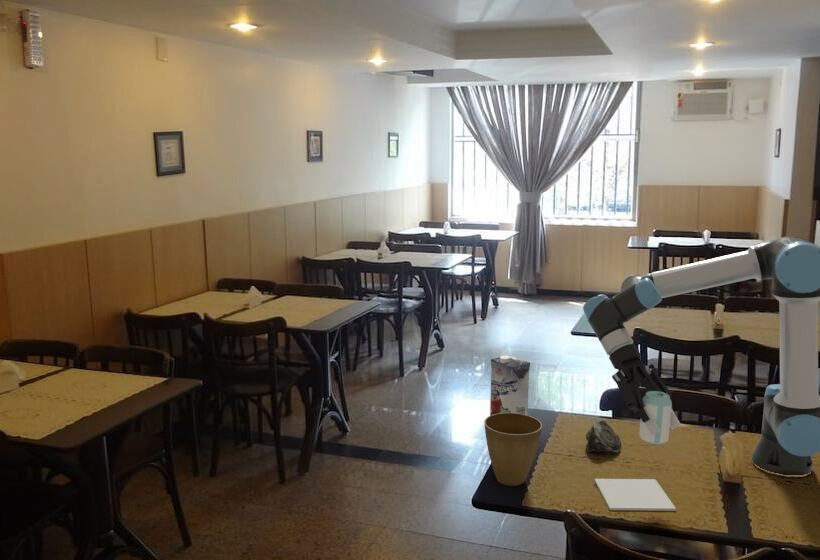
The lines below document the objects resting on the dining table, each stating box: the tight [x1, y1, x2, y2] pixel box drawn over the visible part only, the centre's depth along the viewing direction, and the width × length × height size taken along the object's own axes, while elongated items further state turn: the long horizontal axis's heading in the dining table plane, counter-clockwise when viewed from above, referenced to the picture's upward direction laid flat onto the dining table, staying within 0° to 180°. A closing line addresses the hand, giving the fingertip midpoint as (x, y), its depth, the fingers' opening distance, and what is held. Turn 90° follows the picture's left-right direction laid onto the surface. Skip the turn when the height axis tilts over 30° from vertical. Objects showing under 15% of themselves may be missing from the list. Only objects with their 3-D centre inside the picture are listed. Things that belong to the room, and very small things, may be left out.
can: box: [638, 391, 673, 445], centre depth 190 cm, size 7×7×12 cm
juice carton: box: [489, 355, 531, 416], centre depth 221 cm, size 9×10×27 cm
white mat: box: [594, 478, 677, 512], centre depth 192 cm, size 16×16×1 cm
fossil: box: [585, 419, 622, 455], centre depth 220 cm, size 11×9×10 cm
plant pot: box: [483, 413, 543, 487], centre depth 199 cm, size 15×15×16 cm
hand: (666, 429), depth 187 cm, fingers closed on can, 7 cm apart
